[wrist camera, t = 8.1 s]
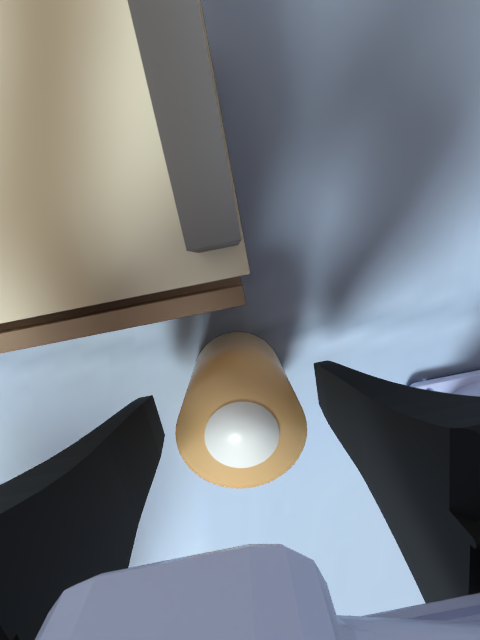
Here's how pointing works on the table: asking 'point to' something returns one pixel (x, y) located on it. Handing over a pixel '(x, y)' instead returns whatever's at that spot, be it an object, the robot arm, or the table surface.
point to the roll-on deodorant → (240, 414)
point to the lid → (110, 155)
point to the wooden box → (121, 314)
